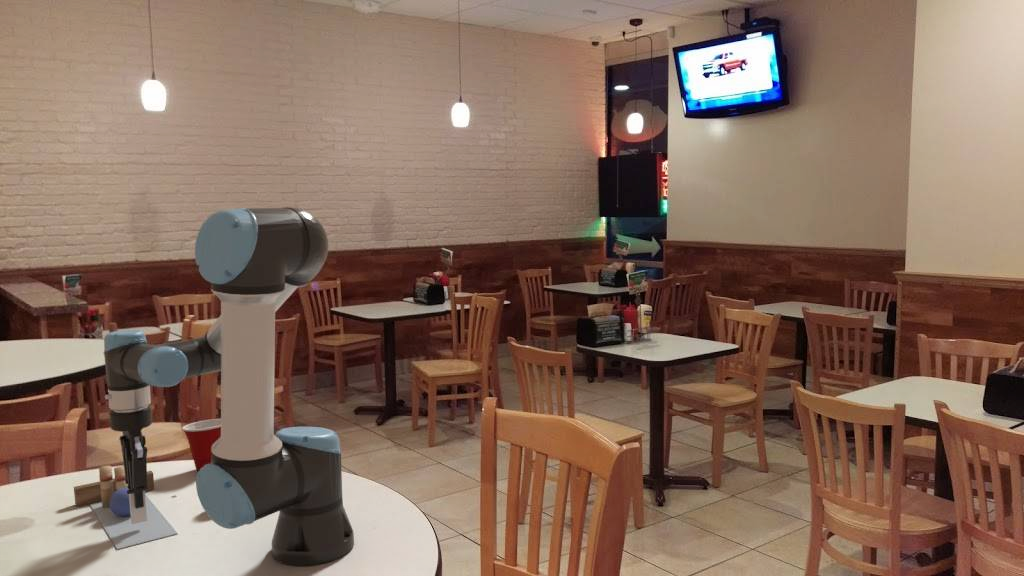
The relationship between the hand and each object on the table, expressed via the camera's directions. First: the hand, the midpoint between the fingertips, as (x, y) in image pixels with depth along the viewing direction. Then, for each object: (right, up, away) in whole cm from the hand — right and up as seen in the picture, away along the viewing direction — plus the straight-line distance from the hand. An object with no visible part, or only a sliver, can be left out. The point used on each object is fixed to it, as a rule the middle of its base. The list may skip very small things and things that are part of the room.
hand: (139, 521), depth 159 cm
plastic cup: (0, +2, +36) cm, 36 cm away
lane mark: (-5, -1, +6) cm, 8 cm away
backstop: (-15, 0, +19) cm, 24 cm away
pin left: (-13, -1, +13) cm, 19 cm away
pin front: (-9, -1, +12) cm, 14 cm away
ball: (-7, +2, +8) cm, 10 cm away
